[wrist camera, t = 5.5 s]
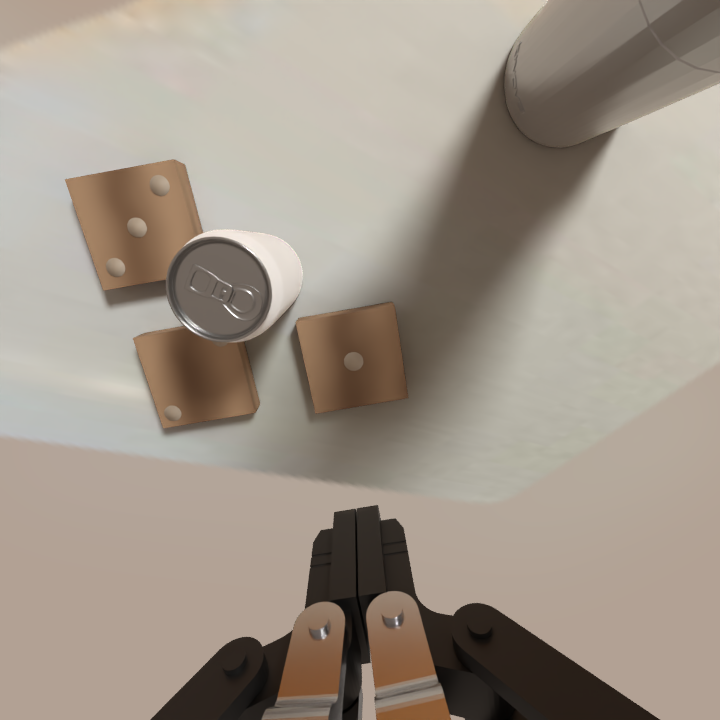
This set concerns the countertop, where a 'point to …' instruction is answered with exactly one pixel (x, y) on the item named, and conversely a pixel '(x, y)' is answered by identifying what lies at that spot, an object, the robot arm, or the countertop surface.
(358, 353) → the tile
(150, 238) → the tile
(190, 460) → the countertop surface
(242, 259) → the can
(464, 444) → the countertop surface
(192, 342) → the tile
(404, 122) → the countertop surface
